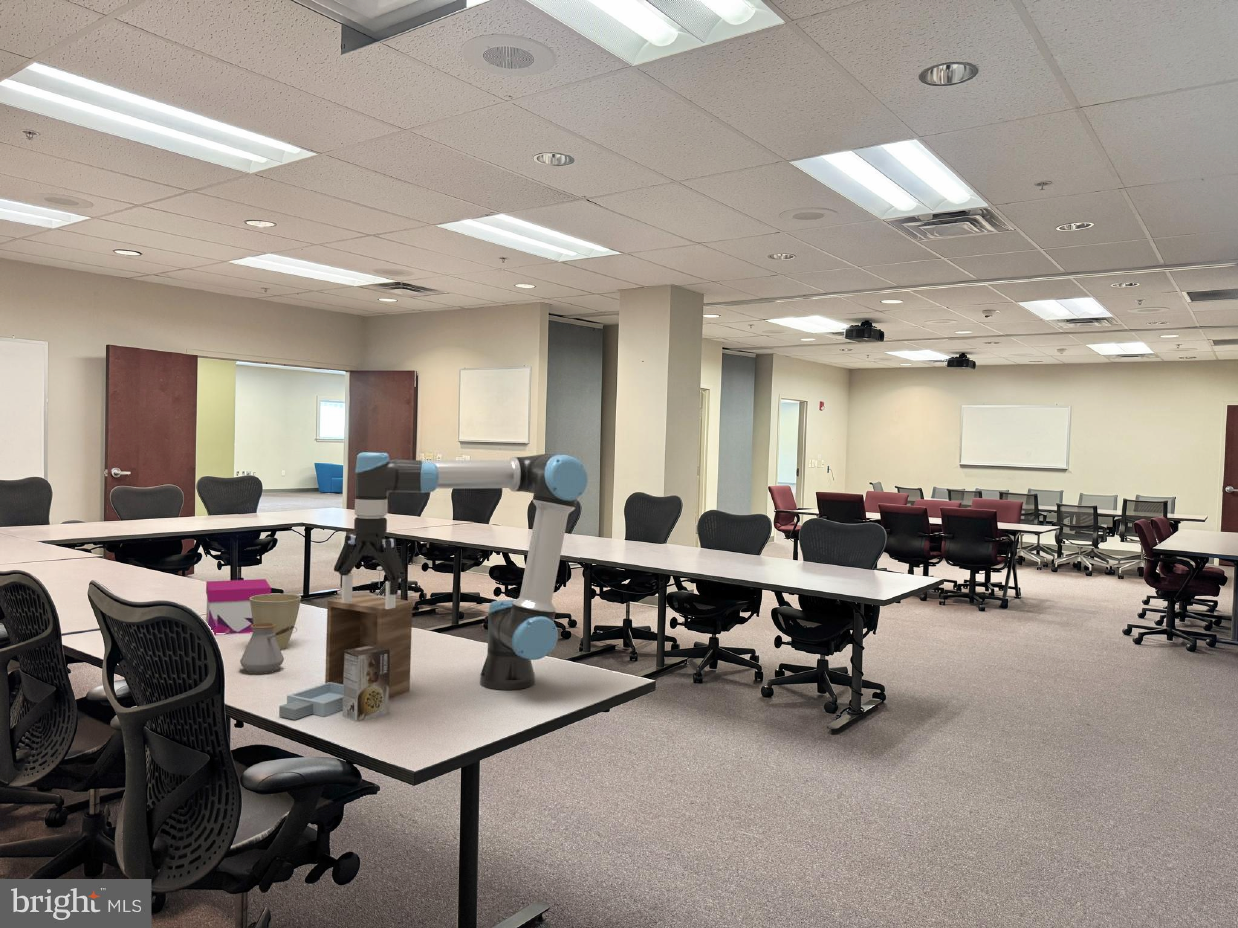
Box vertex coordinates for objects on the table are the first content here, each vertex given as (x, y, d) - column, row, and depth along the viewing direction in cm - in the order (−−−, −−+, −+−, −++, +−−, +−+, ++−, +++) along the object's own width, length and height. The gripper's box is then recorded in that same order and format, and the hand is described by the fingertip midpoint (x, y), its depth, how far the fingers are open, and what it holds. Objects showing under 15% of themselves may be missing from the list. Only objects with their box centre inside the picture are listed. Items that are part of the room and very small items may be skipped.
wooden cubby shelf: (409, 691, 225) (412, 601, 225) (378, 702, 214) (381, 608, 214) (357, 681, 233) (360, 593, 232) (324, 691, 222) (327, 600, 222)
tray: (365, 701, 214) (365, 689, 214) (305, 723, 197) (306, 709, 197) (329, 694, 219) (329, 681, 219) (268, 714, 202) (268, 701, 202)
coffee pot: (231, 669, 239) (233, 617, 239) (270, 662, 249) (271, 611, 248) (272, 685, 226) (274, 629, 226) (311, 676, 235) (312, 623, 235)
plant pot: (288, 654, 258) (289, 602, 258) (239, 652, 259) (241, 600, 258) (307, 643, 273) (308, 594, 273) (261, 641, 274) (262, 592, 273)
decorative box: (205, 624, 295) (206, 581, 295) (264, 620, 304) (265, 579, 304) (207, 635, 279) (208, 590, 278) (269, 631, 288) (271, 587, 287)
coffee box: (373, 708, 210) (375, 643, 210) (389, 714, 206) (391, 648, 206) (341, 716, 203) (343, 649, 203) (356, 722, 199) (358, 654, 199)
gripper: (422, 519, 201) (419, 608, 202) (342, 512, 212) (340, 596, 213) (401, 521, 195) (398, 613, 195) (320, 514, 206) (317, 601, 206)
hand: (368, 605), depth 204 cm, fingers open, 13 cm apart
